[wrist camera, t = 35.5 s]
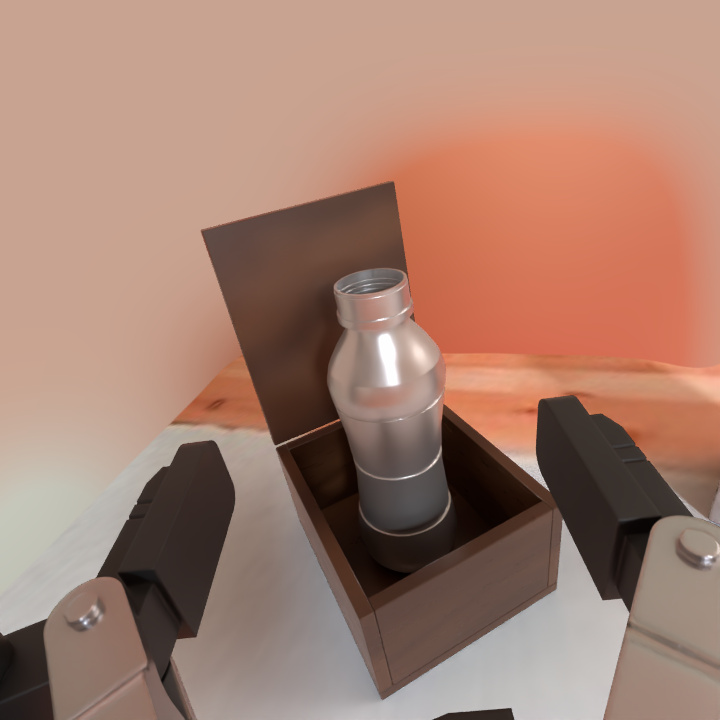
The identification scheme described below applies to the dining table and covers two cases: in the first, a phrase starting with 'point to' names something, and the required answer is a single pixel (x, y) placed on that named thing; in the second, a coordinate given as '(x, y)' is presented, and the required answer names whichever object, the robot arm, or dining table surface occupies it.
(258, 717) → the dining table surface
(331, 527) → the chest
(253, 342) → the lid
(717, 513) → the coffee box
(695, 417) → the dining table surface
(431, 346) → the silver metal bottle
